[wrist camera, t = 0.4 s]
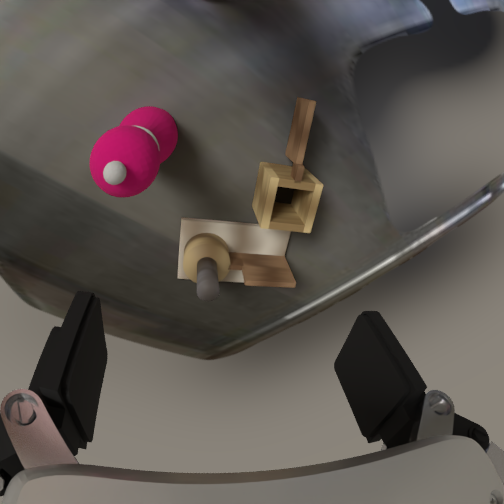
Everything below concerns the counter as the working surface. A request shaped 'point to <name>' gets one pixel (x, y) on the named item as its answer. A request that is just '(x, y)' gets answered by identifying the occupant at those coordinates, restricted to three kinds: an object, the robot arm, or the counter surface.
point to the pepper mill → (133, 152)
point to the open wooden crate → (289, 181)
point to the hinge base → (232, 255)
